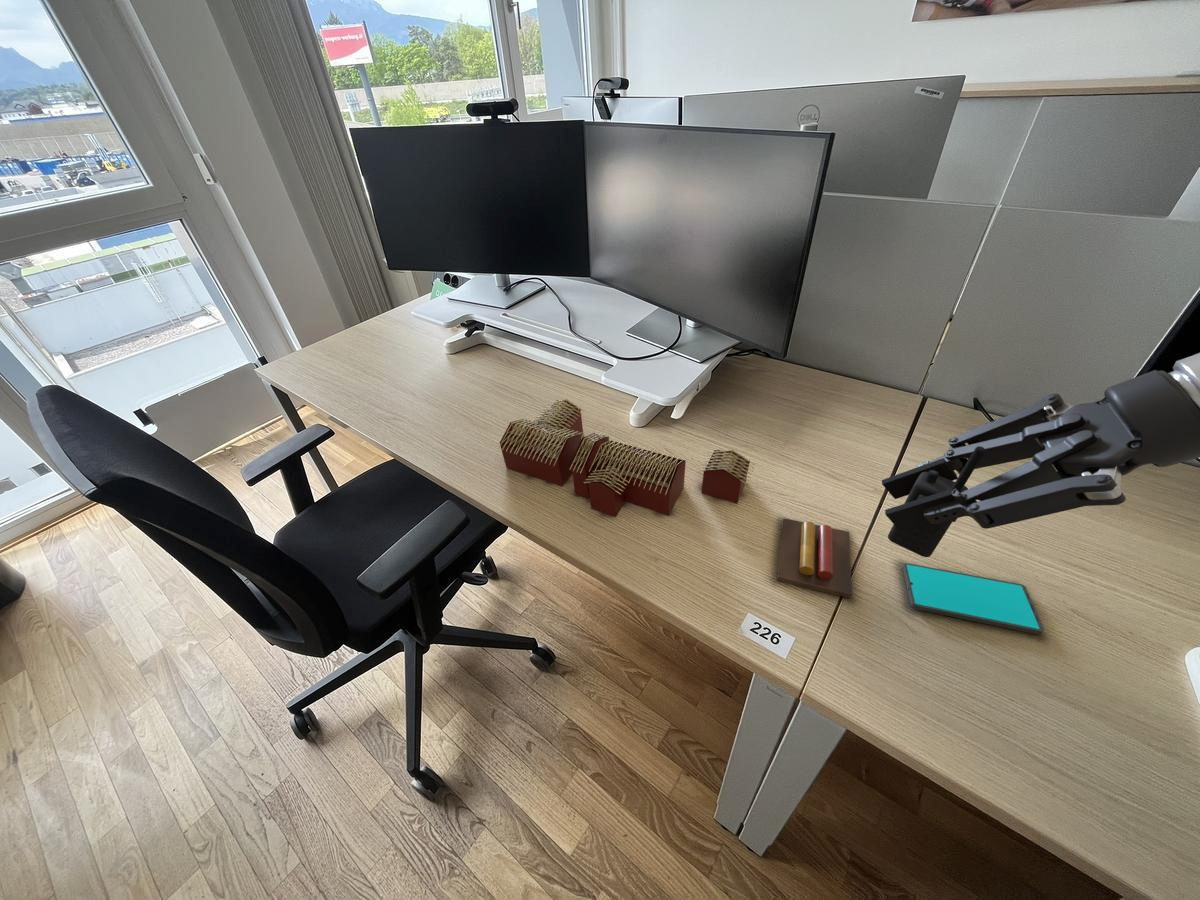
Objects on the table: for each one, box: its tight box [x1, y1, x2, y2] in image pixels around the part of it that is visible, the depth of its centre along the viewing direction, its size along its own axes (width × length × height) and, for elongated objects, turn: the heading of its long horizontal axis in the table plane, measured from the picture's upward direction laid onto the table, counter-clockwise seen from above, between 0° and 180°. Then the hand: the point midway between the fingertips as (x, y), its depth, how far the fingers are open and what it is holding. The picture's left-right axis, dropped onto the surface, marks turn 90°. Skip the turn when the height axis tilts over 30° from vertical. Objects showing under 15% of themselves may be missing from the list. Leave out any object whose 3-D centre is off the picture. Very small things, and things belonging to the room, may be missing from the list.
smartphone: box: [902, 562, 1045, 635], centre depth 64 cm, size 7×1×15 cm
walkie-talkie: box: [887, 446, 986, 558], centre depth 50 cm, size 5×3×15 cm
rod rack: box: [776, 517, 853, 600], centre depth 71 cm, size 10×12×3 cm
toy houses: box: [497, 398, 756, 518], centre depth 85 cm, size 45×20×10 cm, turn 63°
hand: (890, 504), depth 52 cm, fingers closed on walkie-talkie, 4 cm apart
